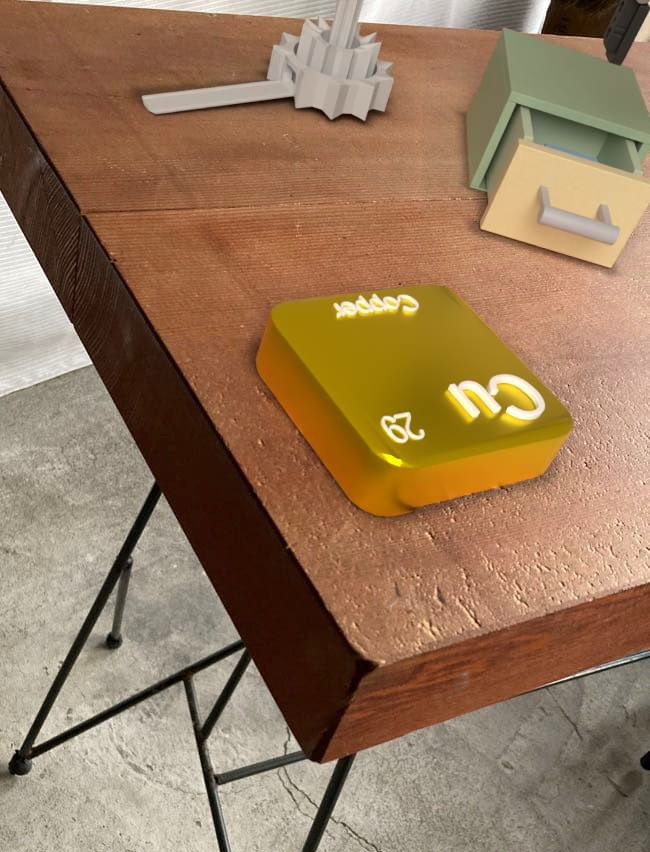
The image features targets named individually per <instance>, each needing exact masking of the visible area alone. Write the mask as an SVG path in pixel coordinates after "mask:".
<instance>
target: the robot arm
mask: <svg viewBox="0 0 650 852" xmlns="http://www.w3.org/2000/svg"><path fill="white" fill-rule="evenodd" d="M649 3H650V0H620V1H619V3H618V5H617V7H616V9H615V11H614V13H613V15H612V17H611V19H610V20H609V23H608V25H607V26H606V29H605V31H604V32H603V33H604V34H603V40H602V44H603V46H604V49H605V57H606V60H608V61H609V63H612V64H615V65H618V66H620V65H623V63H624V61H625V59H626V57H627V55H628V54H629V51H630V49H631V48H632V46H633V44H634V42H635V39H636V38H637V36H638V34H639V32H640V30H641V28H642V26H643V24H644V22H645V21H646V18H647V17H648V14H649V13H650V4H649Z"/></svg>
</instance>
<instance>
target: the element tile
mask: <svg viewBox="0 0 650 852" xmlns="http://www.w3.org/2000/svg"><path fill="white" fill-rule="evenodd" d="M255 366H256V371H257V373H258V375H259V377H260V378H261V379H262V381H263V382H264V384H265V385H266V387H267V388H268V389H269V390H270V391H271V393H272V395H273V396H274V398H275V399H276V401H277V402H278V403H279V404H280V406H281V407H282V409H283V410H284V412H286V415H288V417H289V418H290V420H291V421H292V422H293V424H294V425H295V427H296V428H297V429H298V431H299V432H300V433H301V435H302V436H303V437H304V439H305V440H306V442H307V443H308V445H309V446H310V447H311V448H312V450H313V451H314V453H315V454H316V456H317V457H318V458H319V460H320V461H321V462H322V464H323V465H324V466H325V467H326V469H327V471H328V472H329V473H330V475H331V476H332V477H333V479H334V480H335V481H336V483H337V484H338V486H339V488H340V489H341V490H342V491H343V492H344V494H345V495H346V497H347V498H348V499H349V500H350V501H351V502H352V503H353V504H354V505H355V506H357V507H359V508H360V509H361V510H363V512H365V513H368V514H371V515H374V516H377V517H385V518H387V517H388V518H389V517H398V516H403V515H406V514H410V513H413V512H416V509H417V508H421V507H424V506H427V505H432V504H437V503H440V502H443V501H447V500H451V499H456V498H460V497H463V496H468V495H471V494H476V493H479V492H483V491H487V490H492V489H496V488H500V487H503V486H507V485H511V484H515V483H519V482H523V481H527V480H532V479H535V478H537V477H540V476H543V474H544V473H546V471H547V470H548V468H549V467H550V465H551V464H552V462H553V461H554V459H555V458H556V456H557V455H558V453H559V452H560V451H561V449H562V447H563V446H564V444H565V442H566V441H567V439H568V438H569V437H570V434H571V433H572V432H573V429H574V423H575V422H574V421H575V420H574V419H573V416H572V415H571V413H570V411H569V409H568V408H567V406H566V405H564V403H563V402H562V401H561V400H560V399H559V398H558V397H557V396H556V395H555V394H554V393H553V392H552V391H551V390H550V389H549V388H548V386H546V384H544V382H543V381H542V380H541V379H540V378H539V377H538V376H537V375H536V374H535V373H534V372H533V370H531V369H530V368H529V367H528V365H526V364H525V362H524V361H523V360H522V359H521V358H520V357H519V356H518V355H517V354H516V353H515V352H514V351H513V350H512V348H511V347H509V345H507V343H506V342H505V341H504V340H503V339H502V338H501V337H500V336H499V335H498V334H497V333H496V332H495V331H494V330H493V329H492V328H491V327H490V326H489V324H487V322H485V320H484V319H483V318H482V317H481V316H480V315H479V314H478V313H477V312H476V311H475V310H474V309H473V308H472V307H471V306H470V305H469V303H468V302H467V301H465V299H464V298H462V297H461V295H459V294H458V293H456V292H455V291H454V290H453V289H451V288H449V287H448V286H446V285H439V284H437V285H436V284H416V285H406V286H400V287H390V288H382V289H381V288H380V289H371V290H363V291H354V292H347V293H337V294H336V293H335V294H329V295H320V296H312V297H303V298H293V299H287V300H283V301H280V302H278V303H276V304H274V305H273V306H272V308H271V310H270V312H269V314H268V317H267V321H266V324H265V327H264V331H263V334H262V338H261V340H260V344H259V347H258V350H257V353H256V357H255Z"/></svg>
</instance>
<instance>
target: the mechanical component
mask: <svg viewBox="0 0 650 852" xmlns="http://www.w3.org/2000/svg"><path fill="white" fill-rule="evenodd" d="M363 3H364V0H337V2H336V7H335V11H334V14H333V19H332V23H331V25H329V24H328V23H327V21H326V20H325V19H324V17H323V16H322V15H321V14H320V12H319V13H318V14H317V15H318V16H317V20H316V24H315V23H314V22H313V21H311V20H310V19H309V18H308V17H305V19H304V22H303V25H302V29H301V33H300V35H297V36H296V35H294V34H291V33H287V32H285V31H282V34H281V38H280V43H279V44H273V45H272V50H271V55H270V56H271V57H270V61H269V65H268V70H267V74H266V75H267V76H266V80H263V81H262V80H261V81H255V82H245V83H237V84H230V85H228V84H227V85H221V86H211V87H204V88H196V89H187V90H179V91H171V92H162V93H153V94H145V95H141V100H142V103H143V106H144V107H145V108H146V109H147V111H148V112H150V113H152V114H154V115H160V114H161V115H162V114H168V113H176V112H184V111H191V110H198V109H206V108H213V107H221V106H229V105H235V104H236V105H237V104H243V103H244V104H245V103H250V102H260V101H267V100H274V99H282V98H283V99H284V98H290V97H293V99H294V107H295V109H302V108H303V109H304V108H311V107H313V108H315V109H319V110H321V111H322V112H323V113H324V114H325V115H326V116H327V117H328V118H329V120H332V121H333V120H334V119H336V118H337V117H339V116H340V115H343V114H347V115H348V114H349V115H350V114H351V115H353V116H354V117H357V118H358V119H360V120H362V121H364V122H365V121H366V118H367V115H368V112H370V111H371V110H376V111H380V112H385V110H386V107H387V104H388V101H389V97H390V94H391V91H392V88H393V85H394V81H395V78H394V77H393V76H391V73H392V70H393V67H394V62H392V61H387V60H382V59H380V58H379V53H380V50H381V46H382V44H383V42H382V41H378V42H375V41H376V38H377V34H378V31H374V32H373V33H370V34H368V35H364V36H362V35H361V34H360V33H361V32H360V31H361V26H362V21H359V19H360V15H361V12H362V8H363Z"/></svg>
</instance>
